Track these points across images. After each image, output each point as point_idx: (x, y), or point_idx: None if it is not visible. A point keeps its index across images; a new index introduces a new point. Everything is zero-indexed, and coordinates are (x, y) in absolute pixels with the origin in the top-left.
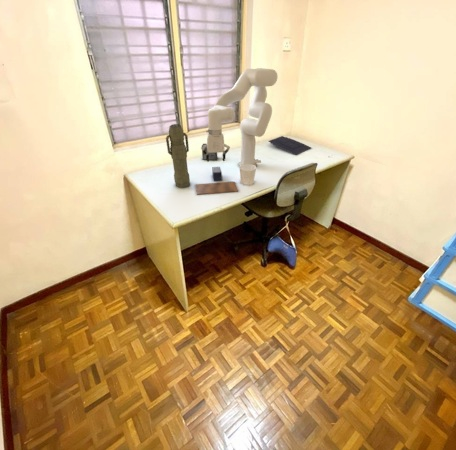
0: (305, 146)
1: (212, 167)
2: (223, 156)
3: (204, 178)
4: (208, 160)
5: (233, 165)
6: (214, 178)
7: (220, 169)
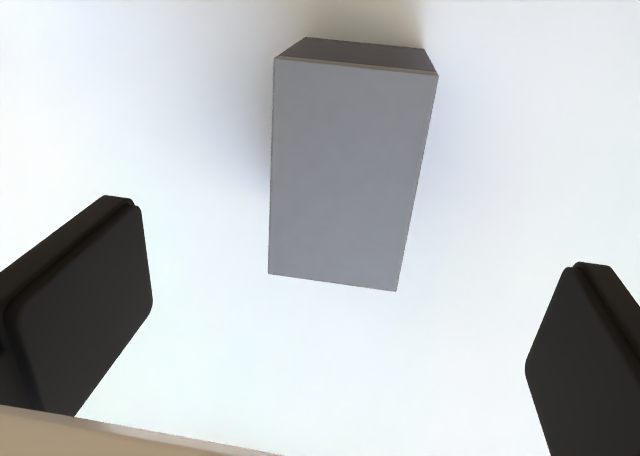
0: None
1: (395, 277)
2: (49, 272)
3: (528, 173)
4: (595, 278)
5: (115, 378)
6: (417, 52)
7: (276, 165)
